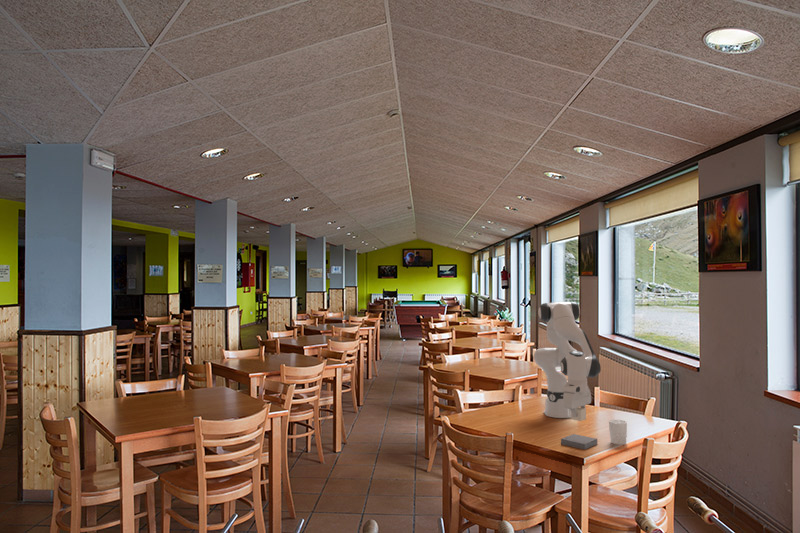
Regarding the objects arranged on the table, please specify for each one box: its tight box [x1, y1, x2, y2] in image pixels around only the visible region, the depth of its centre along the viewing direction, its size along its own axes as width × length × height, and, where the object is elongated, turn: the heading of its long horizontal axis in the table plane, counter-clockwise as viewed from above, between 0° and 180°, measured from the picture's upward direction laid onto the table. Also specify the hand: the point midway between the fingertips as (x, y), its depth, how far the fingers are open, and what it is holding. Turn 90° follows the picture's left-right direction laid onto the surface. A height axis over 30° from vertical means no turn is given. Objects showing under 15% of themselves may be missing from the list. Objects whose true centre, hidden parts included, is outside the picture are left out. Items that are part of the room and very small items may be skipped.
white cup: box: [608, 419, 628, 446], centre depth 244 cm, size 8×8×10 cm
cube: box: [570, 407, 587, 422], centre depth 243 cm, size 5×5×5 cm
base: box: [560, 433, 598, 450], centre depth 242 cm, size 12×12×2 cm
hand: (578, 415), depth 243 cm, fingers closed on cube, 5 cm apart
